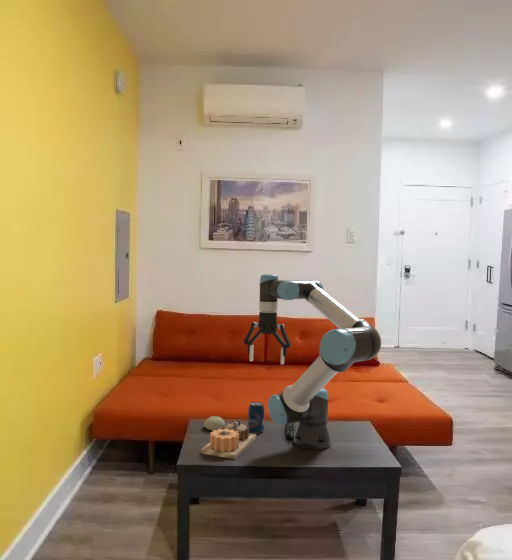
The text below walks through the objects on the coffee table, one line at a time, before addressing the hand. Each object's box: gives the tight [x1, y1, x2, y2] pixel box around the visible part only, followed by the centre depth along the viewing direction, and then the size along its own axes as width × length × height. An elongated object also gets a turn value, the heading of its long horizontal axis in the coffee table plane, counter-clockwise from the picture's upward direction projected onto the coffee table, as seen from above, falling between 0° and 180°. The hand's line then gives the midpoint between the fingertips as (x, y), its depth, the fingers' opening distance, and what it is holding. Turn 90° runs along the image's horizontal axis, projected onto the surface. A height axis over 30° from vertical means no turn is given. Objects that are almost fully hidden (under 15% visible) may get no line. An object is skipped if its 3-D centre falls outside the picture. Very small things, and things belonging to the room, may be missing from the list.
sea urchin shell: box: [203, 415, 226, 432], centre depth 217 cm, size 9×8×8 cm
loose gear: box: [209, 429, 239, 452], centre depth 192 cm, size 11×11×5 cm
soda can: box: [247, 401, 265, 434], centre depth 215 cm, size 7×7×12 cm
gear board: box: [200, 419, 257, 460], centre depth 197 cm, size 14×24×8 cm, turn 161°
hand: (266, 362), depth 206 cm, fingers open, 13 cm apart
